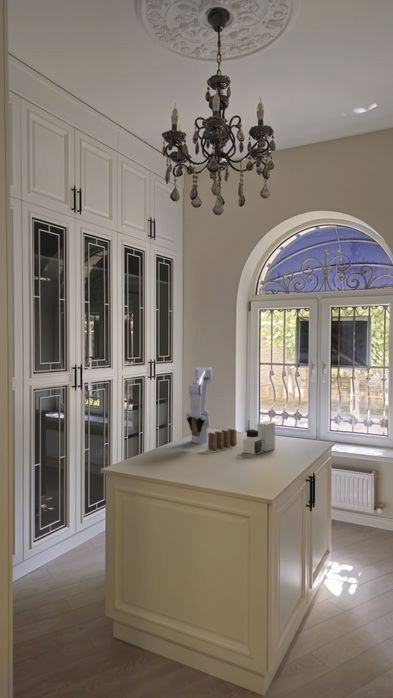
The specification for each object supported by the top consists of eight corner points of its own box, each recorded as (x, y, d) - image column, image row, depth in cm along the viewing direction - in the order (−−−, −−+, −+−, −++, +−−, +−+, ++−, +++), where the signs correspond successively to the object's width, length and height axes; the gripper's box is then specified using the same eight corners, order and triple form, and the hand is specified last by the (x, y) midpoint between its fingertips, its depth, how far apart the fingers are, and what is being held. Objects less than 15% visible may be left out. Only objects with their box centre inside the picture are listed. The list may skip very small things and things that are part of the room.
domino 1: (208, 449, 249) (208, 432, 248) (210, 448, 250) (210, 432, 249) (214, 450, 245) (214, 434, 244) (216, 450, 246) (216, 433, 246)
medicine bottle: (254, 454, 238) (254, 431, 237) (243, 452, 242) (243, 430, 242) (261, 452, 244) (261, 429, 243) (250, 449, 248) (250, 427, 247)
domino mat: (196, 451, 245) (196, 450, 245) (230, 443, 262) (230, 443, 262) (206, 454, 239) (206, 453, 239) (241, 446, 256) (241, 445, 256)
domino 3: (221, 446, 255) (221, 430, 255) (223, 445, 256) (223, 429, 256) (227, 447, 251) (227, 431, 251) (230, 447, 252) (229, 431, 252)
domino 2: (215, 447, 252) (215, 431, 252) (217, 447, 253) (217, 431, 253) (221, 449, 248) (221, 432, 248) (223, 448, 249) (223, 432, 249)
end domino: (191, 435, 251) (191, 418, 251) (193, 434, 252) (193, 418, 252) (197, 436, 247) (197, 420, 247) (199, 436, 248) (199, 419, 248)
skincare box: (267, 447, 254) (267, 420, 253) (275, 449, 249) (275, 422, 248) (256, 449, 248) (256, 422, 248) (265, 451, 244) (265, 424, 243)
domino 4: (227, 444, 258) (227, 428, 258) (229, 444, 259) (229, 428, 259) (234, 446, 255) (234, 430, 254) (236, 445, 256) (236, 429, 255)
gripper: (181, 405, 252) (181, 430, 252) (198, 408, 241) (199, 434, 242) (191, 404, 257) (191, 428, 257) (208, 407, 246) (208, 432, 246)
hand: (195, 431), depth 250 cm, fingers closed on end domino, 5 cm apart
